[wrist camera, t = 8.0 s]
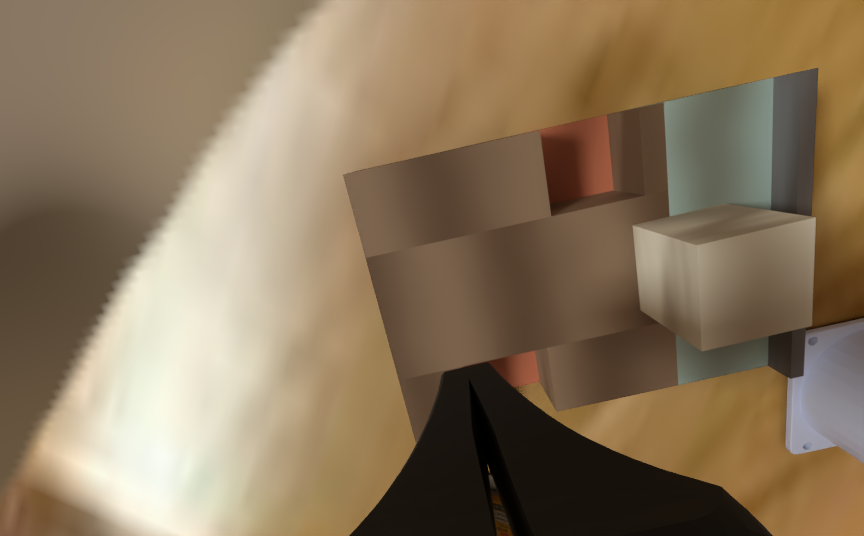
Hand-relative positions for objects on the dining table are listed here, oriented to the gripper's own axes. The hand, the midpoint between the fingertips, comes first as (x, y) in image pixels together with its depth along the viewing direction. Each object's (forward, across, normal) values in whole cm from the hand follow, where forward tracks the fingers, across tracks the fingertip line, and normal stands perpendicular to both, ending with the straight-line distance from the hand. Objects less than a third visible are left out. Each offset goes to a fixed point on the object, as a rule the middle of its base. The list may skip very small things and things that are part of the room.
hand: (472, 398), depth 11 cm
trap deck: (+10, -6, 0) cm, 12 cm away
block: (+7, -10, 0) cm, 12 cm away
